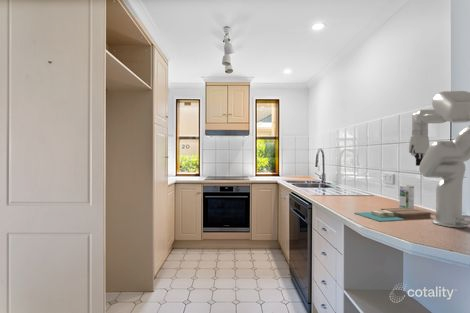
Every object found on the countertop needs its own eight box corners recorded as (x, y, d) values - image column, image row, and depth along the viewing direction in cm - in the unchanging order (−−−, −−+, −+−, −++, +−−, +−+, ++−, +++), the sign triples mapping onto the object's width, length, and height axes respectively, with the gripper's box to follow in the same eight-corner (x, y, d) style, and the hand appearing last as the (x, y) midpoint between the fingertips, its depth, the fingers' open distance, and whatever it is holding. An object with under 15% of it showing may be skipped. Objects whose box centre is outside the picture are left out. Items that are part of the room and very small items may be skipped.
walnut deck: (430, 217, 137) (430, 212, 137) (402, 219, 132) (402, 214, 132) (407, 211, 150) (407, 207, 150) (381, 213, 146) (381, 208, 146)
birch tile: (385, 213, 143) (385, 210, 143) (394, 216, 137) (394, 212, 137) (371, 214, 141) (371, 210, 141) (379, 217, 135) (379, 213, 135)
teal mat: (405, 220, 130) (405, 219, 130) (379, 221, 127) (379, 220, 127) (377, 212, 148) (377, 211, 148) (354, 213, 144) (354, 212, 144)
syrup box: (398, 207, 163) (398, 184, 163) (405, 207, 165) (405, 184, 165) (407, 209, 157) (407, 185, 157) (414, 209, 159) (414, 185, 159)
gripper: (424, 134, 154) (423, 165, 154) (403, 134, 150) (403, 165, 150) (436, 133, 147) (436, 166, 147) (415, 132, 143) (414, 166, 143)
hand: (419, 165), depth 148 cm, fingers closed
